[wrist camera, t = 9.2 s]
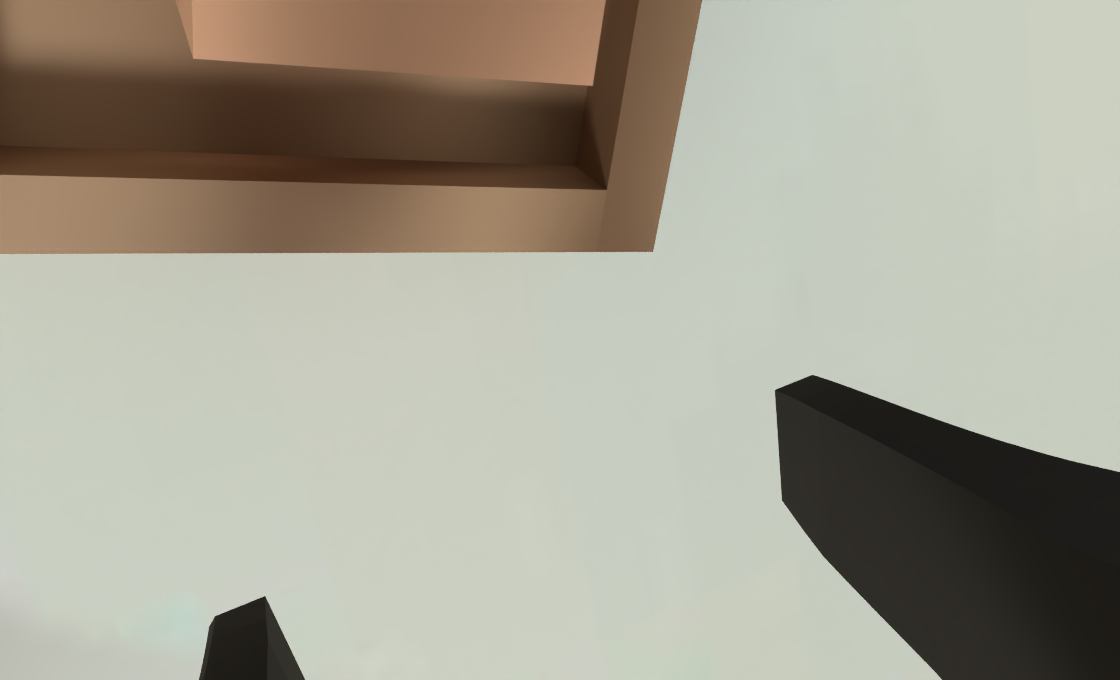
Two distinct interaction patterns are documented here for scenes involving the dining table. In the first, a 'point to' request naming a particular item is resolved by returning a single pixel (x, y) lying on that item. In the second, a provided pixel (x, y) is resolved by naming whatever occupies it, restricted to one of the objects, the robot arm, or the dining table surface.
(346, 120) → the wooden tray
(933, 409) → the dining table surface
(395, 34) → the terracotta block
